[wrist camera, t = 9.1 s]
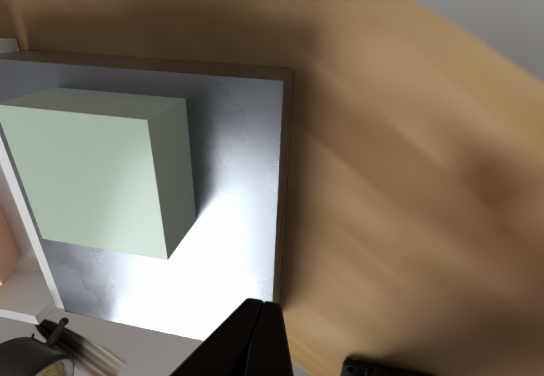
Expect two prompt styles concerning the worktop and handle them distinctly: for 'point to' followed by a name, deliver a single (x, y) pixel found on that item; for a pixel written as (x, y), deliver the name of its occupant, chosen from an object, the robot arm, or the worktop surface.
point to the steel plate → (206, 183)
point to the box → (23, 248)
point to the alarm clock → (35, 356)
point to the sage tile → (104, 168)
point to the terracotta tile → (7, 249)
